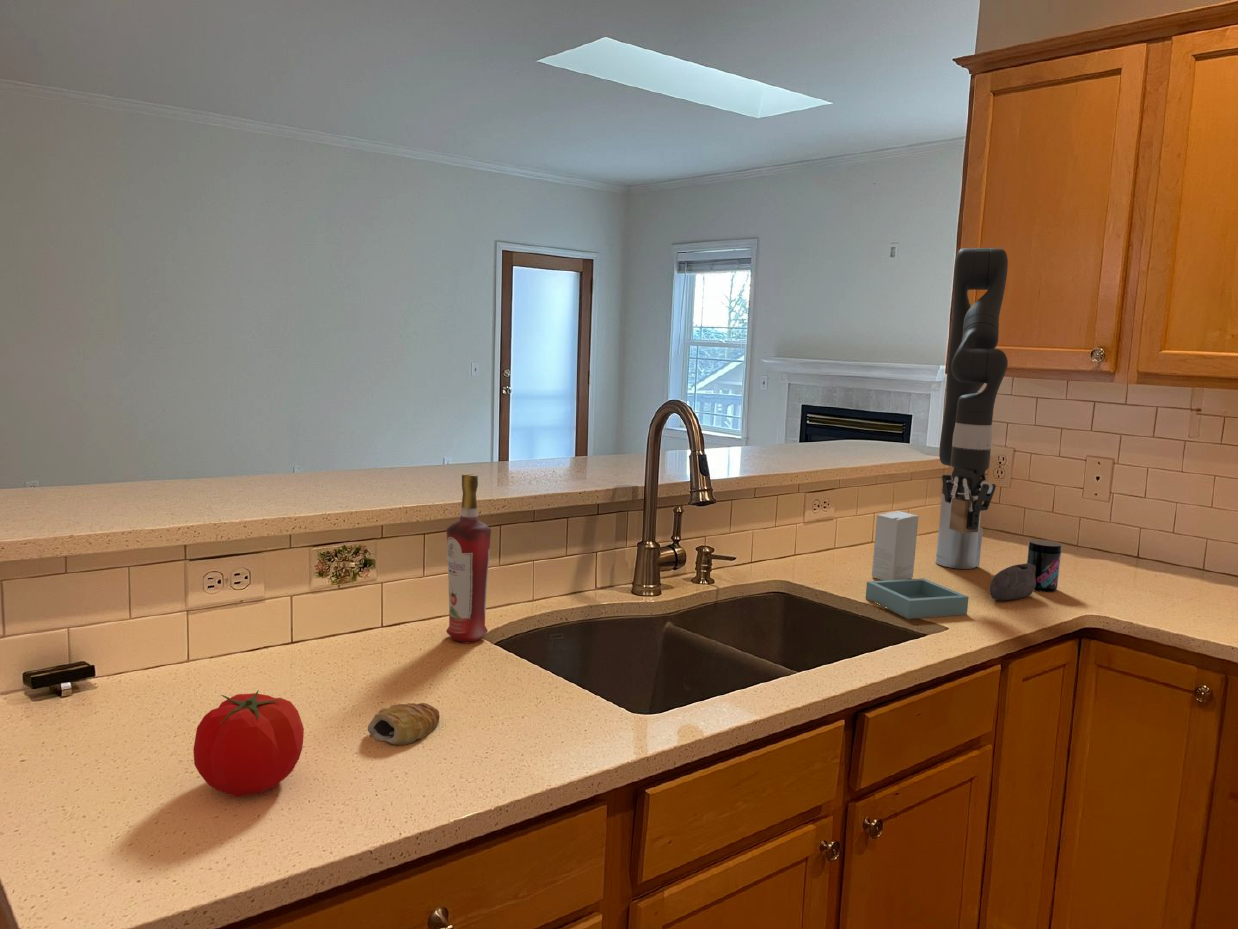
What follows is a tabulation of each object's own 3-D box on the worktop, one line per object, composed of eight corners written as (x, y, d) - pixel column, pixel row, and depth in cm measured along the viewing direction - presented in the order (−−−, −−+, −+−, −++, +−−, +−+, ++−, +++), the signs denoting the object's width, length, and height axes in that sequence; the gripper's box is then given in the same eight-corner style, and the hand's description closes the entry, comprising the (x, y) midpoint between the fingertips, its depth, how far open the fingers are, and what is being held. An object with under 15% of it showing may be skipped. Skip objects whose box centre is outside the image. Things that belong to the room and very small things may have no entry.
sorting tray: (921, 594, 193) (923, 578, 193) (966, 614, 180) (968, 596, 180) (865, 598, 188) (866, 581, 188) (907, 619, 175) (909, 600, 175)
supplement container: (1028, 591, 200) (1033, 544, 198) (1020, 583, 206) (1024, 538, 205) (1061, 593, 199) (1066, 547, 197) (1051, 585, 205) (1056, 540, 204)
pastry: (415, 713, 124) (415, 686, 123) (453, 726, 120) (453, 699, 120) (363, 738, 116) (363, 709, 115) (401, 752, 112) (402, 723, 112)
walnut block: (964, 528, 193) (967, 497, 192) (977, 532, 189) (981, 500, 188) (949, 528, 191) (952, 497, 191) (962, 532, 188) (965, 501, 187)
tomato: (194, 769, 105) (191, 684, 104) (298, 754, 110) (297, 672, 109) (194, 820, 95) (192, 726, 93) (310, 800, 100) (309, 711, 98)
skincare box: (891, 573, 211) (897, 510, 209) (914, 578, 206) (920, 514, 204) (870, 577, 206) (875, 513, 203) (893, 584, 201) (898, 518, 199)
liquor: (435, 637, 154) (438, 474, 150) (469, 628, 159) (472, 470, 155) (463, 648, 149) (466, 479, 145) (497, 638, 154) (501, 475, 151)
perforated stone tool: (1000, 606, 187) (1003, 573, 186) (977, 599, 192) (980, 567, 191) (1041, 597, 196) (1045, 566, 195) (1019, 591, 200) (1022, 560, 199)
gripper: (1011, 450, 182) (1002, 533, 185) (962, 441, 196) (955, 519, 198) (981, 450, 180) (972, 535, 182) (934, 441, 193) (926, 520, 196)
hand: (963, 526), depth 190 cm, fingers closed on walnut block, 4 cm apart
